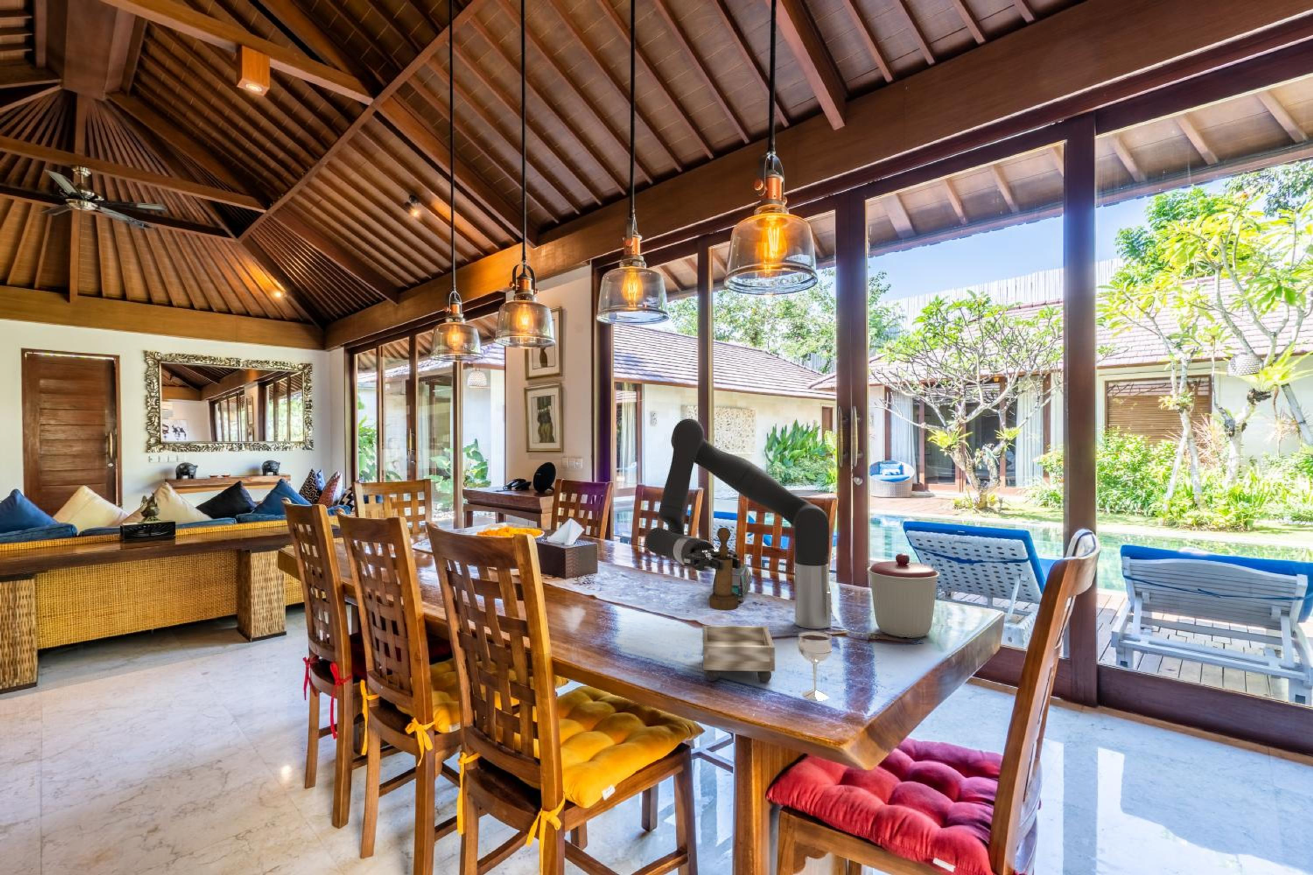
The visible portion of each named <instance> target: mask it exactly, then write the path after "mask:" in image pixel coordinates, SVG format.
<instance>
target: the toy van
mask: <svg viewBox="0 0 1313 875" xmlns="http://www.w3.org/2000/svg"><path fill="white" fill-rule="evenodd" d="M752 582H753V581H752V574H751V571H750V570H749V567H748V565H747V564H742V563H741V567H740V569H735V568H732V592H733V593H734V594H735V595H736V596H737V597H738V602H740V603H745V602H746V596H747V594H748V592H749V591H748V590H750V591H751V584H752ZM714 592H715V575H714V577H713V581H712V594H713V593H714ZM744 601H745V602H744Z"/></svg>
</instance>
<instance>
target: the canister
mask: <svg viewBox="0 0 1313 875" xmlns="http://www.w3.org/2000/svg"><path fill="white" fill-rule="evenodd" d="M910 560H911V559H910V556H909V555H908V554H907V553H904V552H903V553H898V554H896V555H895V561H894V560H892V561H880V562H876V563H874V564H872V565H871V566H869V567H867V568H866V570H867V573H868V574H869V578H870V586H871V595H872V596H871V597H872V604H873V610H874V612H873V613H874V617H875V622H876V625H877V627H878V628H879V630H880V631H881V632H882V633H885V634H887V635H890V636H893V637H897V636H898V637H899V638H903V637H907V639H908V638H909V639H915V638H922V637H925V636H927V635H928V634H929V633H930V631H931V629H932V625H933V619H934V611H935V602H936V592H937V582H938V578H939V577H940V576H941V574H940V572H939V571H938V570H935V568H933V566H930V565H927V564H922V563H919V562H913V561H912V562H911V561H910Z"/></svg>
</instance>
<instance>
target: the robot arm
mask: <svg viewBox="0 0 1313 875" xmlns="http://www.w3.org/2000/svg"><path fill="white" fill-rule="evenodd" d="M670 441H671V442H670V443H671V444H670V445H671V448H672V449H673V451H672V458H671V463H670V467H669V471H668V475H667V478H666V481H665V484H664V488H663V492H662V496H661V500H660V505H659V509H658V518H659V519H660V520H661V521H662V522H663V523H665V524H666V525H667V526H668V529H666V528H662V527H657V526H656V527H654V528H651V530H649V531H648V532H647V534H646V536H645V546H646V548H647V550H648V551H649V552H650V553H652V554H656V555H659V556H662V557H665V558H668V559H671V560H672V561H675V562H676V563H677V562H678V563H680V564H681V565H683V566H685V567H688V568H690V569H692V570H695V571H697V572H704V571H706V570H708V569H709V570H712V569H713V570H715V569H716V570H719V571H723V561H722V560H719V559H716V557H720V552H719V548H715V547H714V545H713V544H712V543H711V542H710V541H709V540H706V539H703V538H699V537H695V536H690V535H685V531H684V529H685V528H684V527H685V526H684V517H685V511H686V506H687V502H688V496H689V491H690V490H689V489H690V484H691V478H692V473H693V468H694V464H696V465H698V466H700V467H701V468H703V469H705V470H706V471H708V472H709V473H711V474H712V475H713V476H715V478H718V479H719V480H720V481H722V482H723V483H724V484H726V485H727V486H728V487H730V488H731V489H733V490H735V492H738V494H741V495H742V496H743V497H745V498H746V499H748V500H750V501H751V502H753V503H755V504H757V505H760V506H762V507H764V508H766V509H768V510H770V511H772V512H774V513H776V514H778V515H779V516H780V517H781V518H783V519H784V520H785V521H786V522H787V523H789V524H790V525H791V526H792V527H793V528H794V624H795V625H796V626H798V627H800V628H803V629H811V630H812V629H814V630H820V629H826V628H827V629H828V628H832V627H831V626H832V621H831V620H832V616H831V615H832V614H831V612H832V610H831V608H832V607H831V604H832V603H831V599H832V598H831V595H832V594H831V592H830V590H829V588H830V586H829V581H830V580H829V576H830V575H829V573H830V572H829V560H830V558H829V557H830V522H829V517H828V515H827V514H826V512H825V511H824V510H823V509H822V508H821V507H819V506H818V505H816V504H813V503H811V502H809V501H807V500H806V499H804V498H802V497H799V496H798V495H796V494H794V493H793V492H791V491H790V490H788V489H787V488H786V487H785V486H783V485H782V484H781V483H780V482H779V481H777V480H776V479H775V478H774V477H773V476H771V475H770V474H769V473H767V472H766V471H765V470H764V469H762V468H760V467H759V466H758V465H756V464H754V463H753V462H751V461H749V460H748V459H746V458H744V457H741V456H737V455H735V454H732V453H728V452H725V451H723V450H721V449H719V448H718V447H716V446H714V445H713V444H712V443H710V442H709V441H708V440H706V439H705V430H704V427H703V425H702V424H701V423H700V422H699V421H698V420H696V419H694V418H683V419H682V420H680V421H679V422H678V423H676V424H675V426H674V428H673V430H672V434H671V438H670ZM727 557H731V558H732V559H733V562H732V568H735V569H740V567H741V564H742V563H741V562H742V561H741V559H740V558H739V554H738V553H737V552H736V551H735V550H733V549H729V551H728V555H727Z"/></svg>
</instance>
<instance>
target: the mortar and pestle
mask: <svg viewBox="0 0 1313 875" xmlns="http://www.w3.org/2000/svg"><path fill="white" fill-rule="evenodd" d="M716 533H717V534H716V537H717V538H718V540H719V542H720V546H719V547H718V550H719V552H720V557H716V559H719V560H722V561H723V571H719V570H716V569H714V570H715V571H714V572H715V574H714V576H715V592H714V593H713V592H712V594H710V595H709V605H708V607H710V609H712V610H717V611H721V612H722V611H724V612H725V611H735V610H736V609H738V608H739V601H738V597H737V596H736V595H735V594H734V593H733V592H732V562H733V559H732V558H731V557H727V555H728V551H729V550H730V548H729V546H728V541H729V539H730V537H731V531H730V529H729V528H728V527H719V528H718V529H717V532H716Z"/></svg>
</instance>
